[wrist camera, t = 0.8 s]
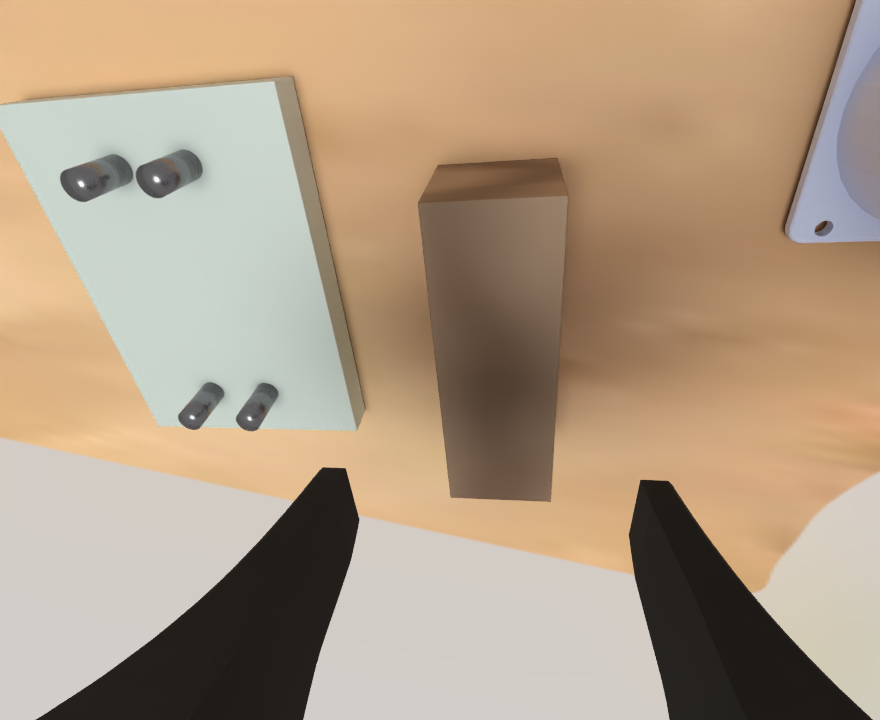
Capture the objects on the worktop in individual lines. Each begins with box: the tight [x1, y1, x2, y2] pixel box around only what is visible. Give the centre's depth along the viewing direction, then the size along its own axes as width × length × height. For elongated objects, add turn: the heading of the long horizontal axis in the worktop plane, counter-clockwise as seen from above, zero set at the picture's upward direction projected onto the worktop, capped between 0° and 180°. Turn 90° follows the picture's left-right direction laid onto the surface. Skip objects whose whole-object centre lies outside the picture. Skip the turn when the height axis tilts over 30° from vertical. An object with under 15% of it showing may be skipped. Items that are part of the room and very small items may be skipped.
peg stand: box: [0, 76, 365, 431], centre depth 19 cm, size 10×14×4 cm
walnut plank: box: [418, 158, 568, 502], centre depth 18 cm, size 4×12×4 cm, turn 5°
